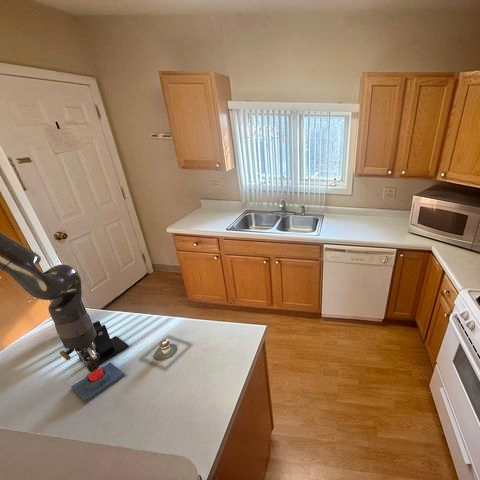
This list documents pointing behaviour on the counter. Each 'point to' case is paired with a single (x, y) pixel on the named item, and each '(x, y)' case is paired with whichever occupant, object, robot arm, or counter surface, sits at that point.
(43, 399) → the counter surface
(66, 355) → the lever
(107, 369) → the button box
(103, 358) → the bracket
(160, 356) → the brass knob on disc
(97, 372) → the button
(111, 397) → the counter surface
